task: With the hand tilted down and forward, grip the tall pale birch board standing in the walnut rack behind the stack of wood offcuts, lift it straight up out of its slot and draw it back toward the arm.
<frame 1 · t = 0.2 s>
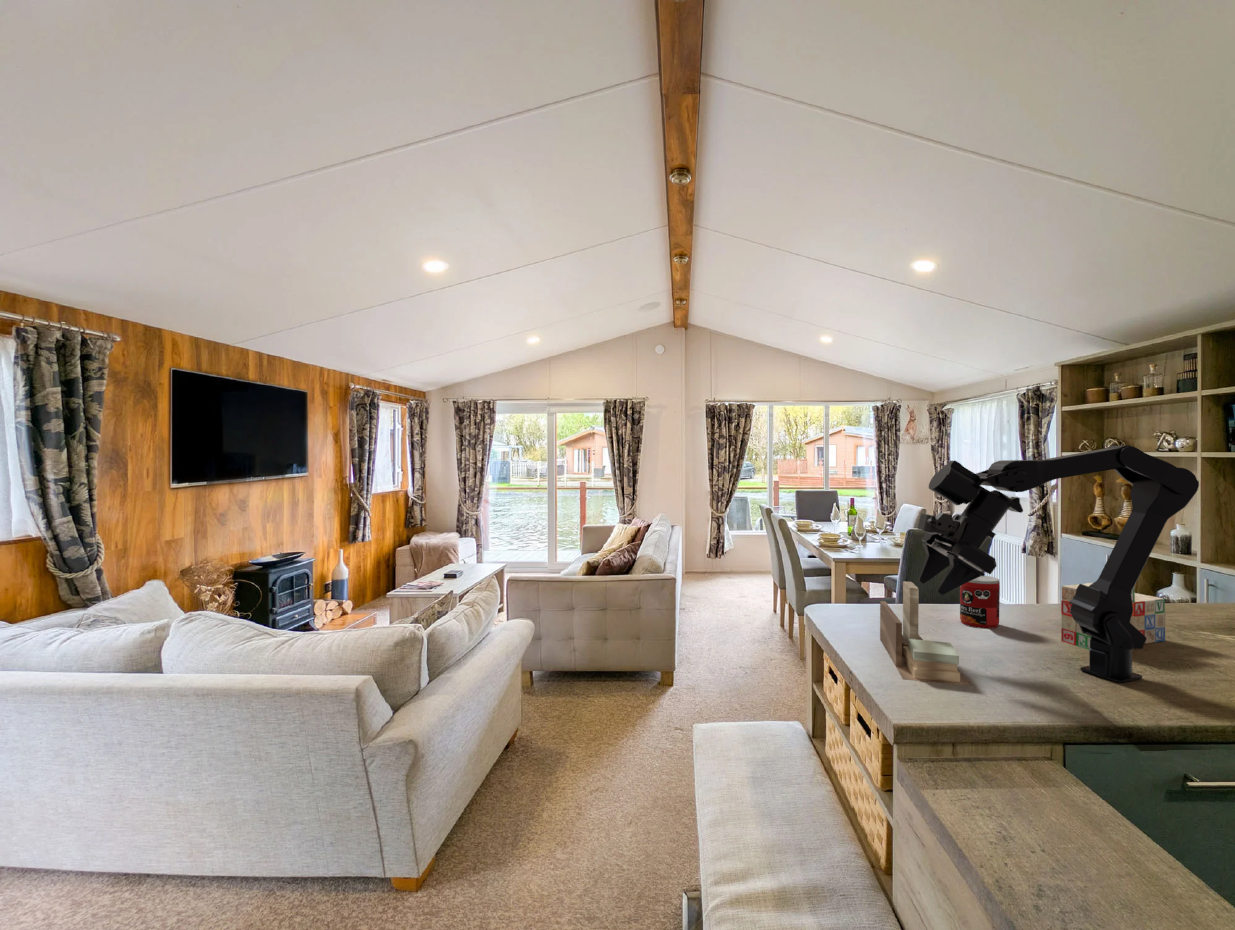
hand: (929, 587, 108), 15 cm above the worktop, tool tilted 35°, fingers open, 9 cm apart
birch board: (910, 650, 112), point 1 cm above the worktop, touching offcut rack
offcut stack: (930, 671, 101), point 1 cm above the worktop, touching offcut rack
offcut rack: (910, 658, 112), on the worktop
canned food: (979, 624, 135), on the worktop
stack of blocks: (1113, 642, 122), on the worktop
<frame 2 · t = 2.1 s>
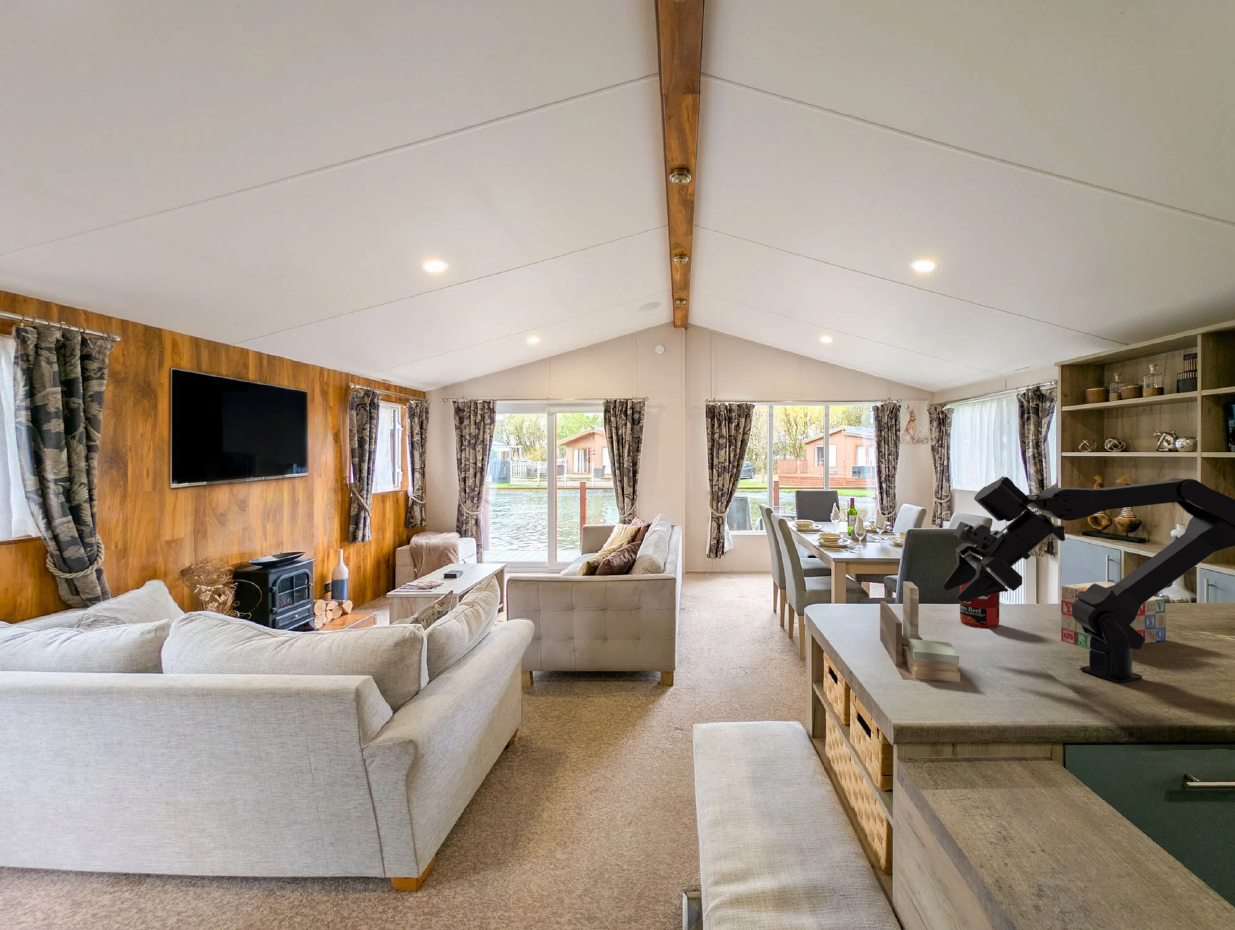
hand: (951, 593, 110), 13 cm above the worktop, tool tilted 45°, fingers open, 9 cm apart
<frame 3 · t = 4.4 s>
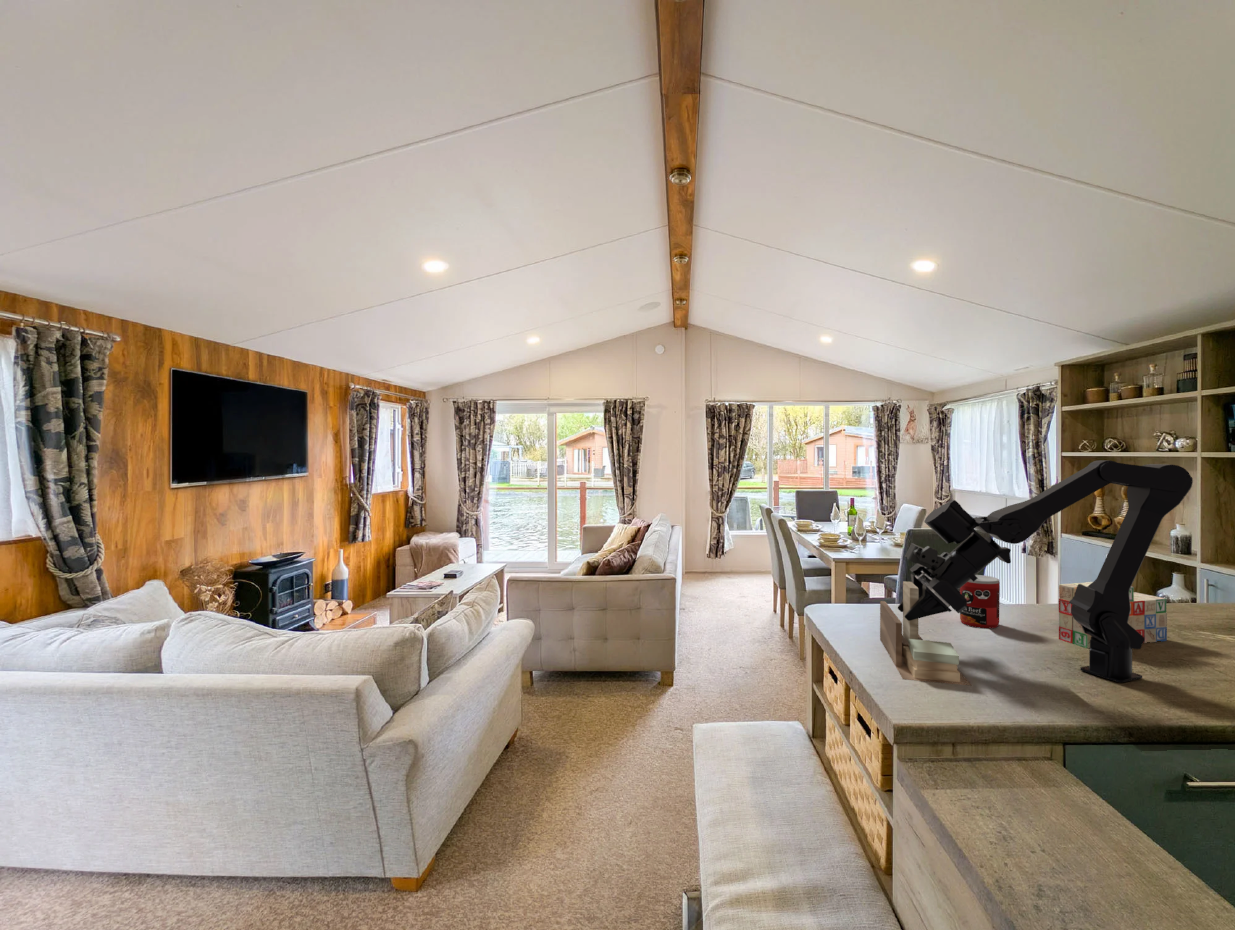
hand: (902, 614, 112), 9 cm above the worktop, tool tilted 45°, fingers closed on birch board, 6 cm apart
birch board: (910, 650, 112), point 2 cm above the worktop, touching gripper, offcut rack
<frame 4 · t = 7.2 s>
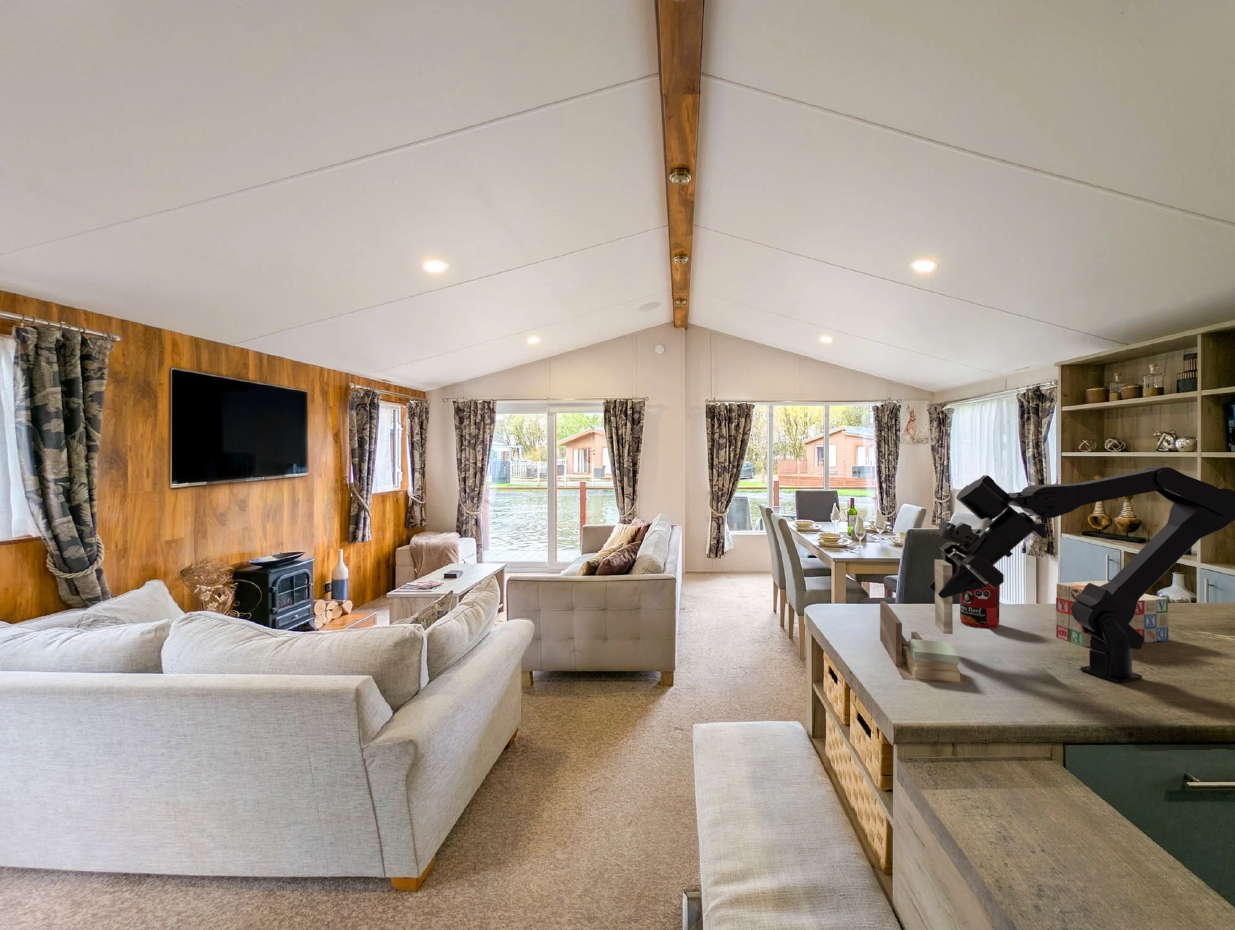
hand: (935, 592, 111), 13 cm above the worktop, tool tilted 45°, fingers closed on birch board, 6 cm apart
birch board: (943, 629, 111), point 6 cm above the worktop, touching gripper
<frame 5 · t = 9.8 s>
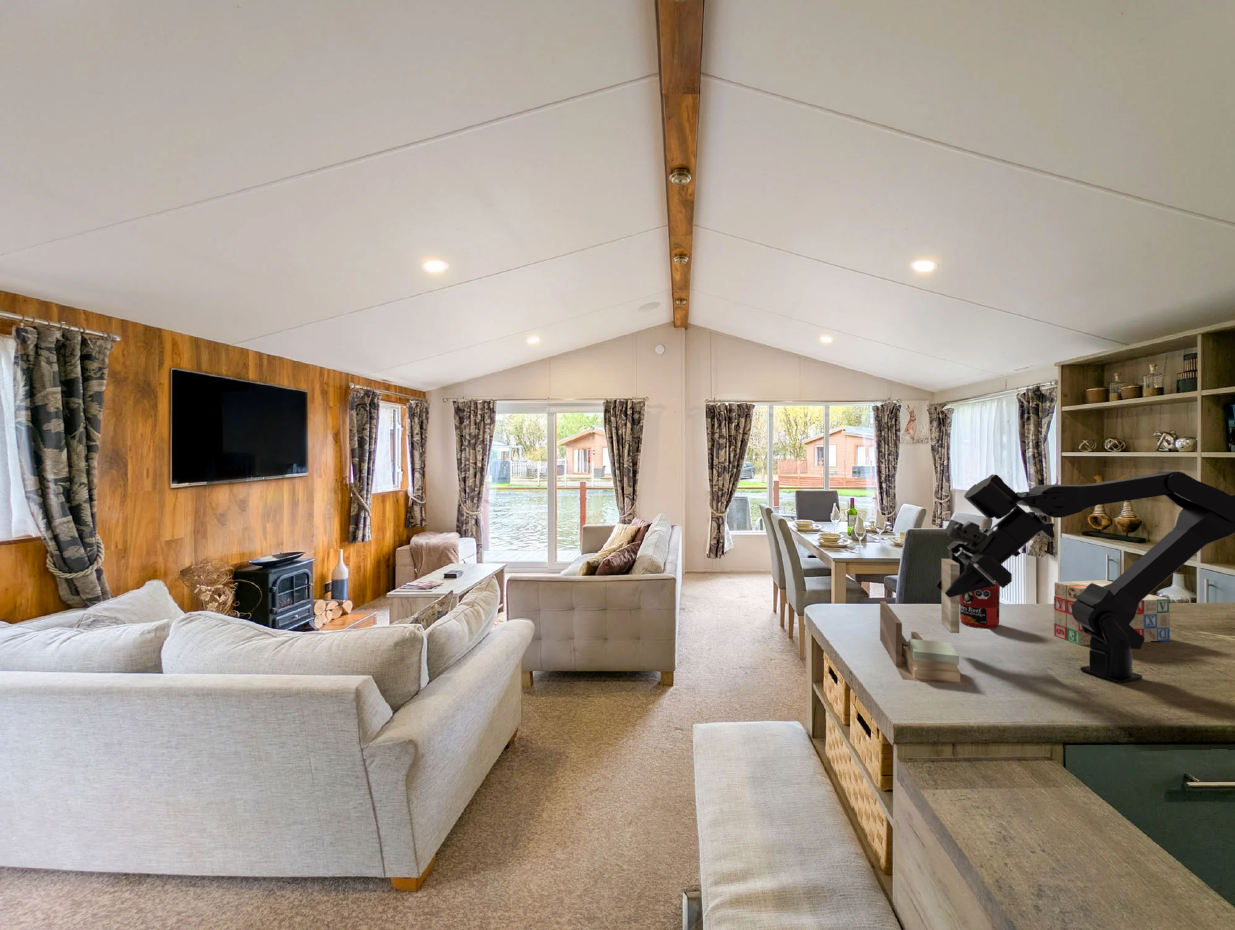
hand: (942, 591, 111), 14 cm above the worktop, tool tilted 45°, fingers closed on birch board, 6 cm apart
birch board: (950, 628, 110), point 6 cm above the worktop, touching gripper
at the end: birch board point 6.4 cm above the worktop; birch board touching gripper; the gripper is holding birch board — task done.
